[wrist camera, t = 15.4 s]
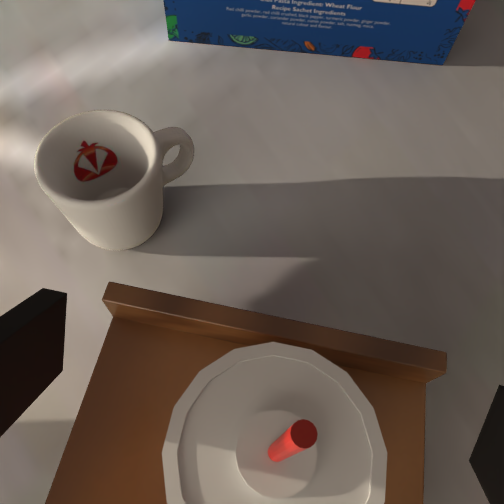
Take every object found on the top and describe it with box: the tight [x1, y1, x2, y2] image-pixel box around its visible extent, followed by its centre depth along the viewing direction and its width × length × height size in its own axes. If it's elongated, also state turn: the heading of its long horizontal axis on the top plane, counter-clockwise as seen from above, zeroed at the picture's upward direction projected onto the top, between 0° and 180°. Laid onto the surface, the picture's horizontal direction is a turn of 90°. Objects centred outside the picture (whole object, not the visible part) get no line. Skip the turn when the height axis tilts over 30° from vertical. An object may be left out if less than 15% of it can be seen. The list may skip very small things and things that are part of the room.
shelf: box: [45, 282, 447, 504], centre depth 23 cm, size 16×13×11 cm
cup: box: [34, 110, 194, 250], centre depth 33 cm, size 11×8×8 cm
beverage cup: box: [162, 342, 387, 504], centre depth 14 cm, size 6×6×14 cm
